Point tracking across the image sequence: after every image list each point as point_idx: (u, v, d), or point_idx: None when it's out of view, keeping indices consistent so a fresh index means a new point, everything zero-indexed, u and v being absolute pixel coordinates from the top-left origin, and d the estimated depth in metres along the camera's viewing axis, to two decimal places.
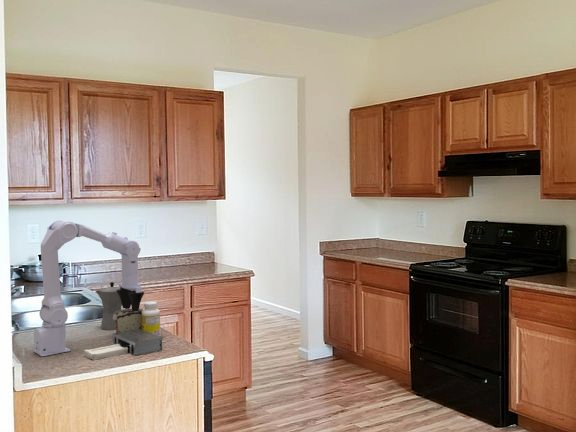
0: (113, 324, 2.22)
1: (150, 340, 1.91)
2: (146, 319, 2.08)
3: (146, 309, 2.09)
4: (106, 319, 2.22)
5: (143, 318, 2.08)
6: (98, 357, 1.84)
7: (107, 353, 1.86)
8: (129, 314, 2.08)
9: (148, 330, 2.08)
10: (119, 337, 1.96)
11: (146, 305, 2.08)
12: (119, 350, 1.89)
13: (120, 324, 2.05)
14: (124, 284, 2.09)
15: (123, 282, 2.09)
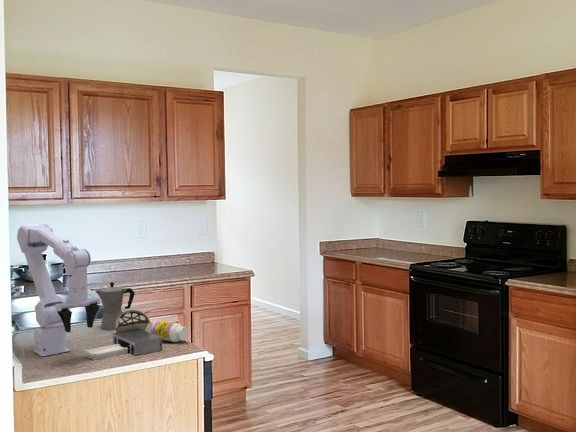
0: (113, 324, 2.22)
1: (150, 340, 1.91)
2: (166, 338, 2.03)
3: (175, 335, 2.02)
4: (106, 319, 2.22)
5: (166, 334, 2.02)
6: (98, 357, 1.84)
7: (107, 353, 1.86)
8: (133, 323, 2.03)
9: None
10: (119, 337, 1.96)
11: (179, 337, 2.01)
12: (119, 350, 1.89)
13: (120, 330, 2.02)
14: None
15: None
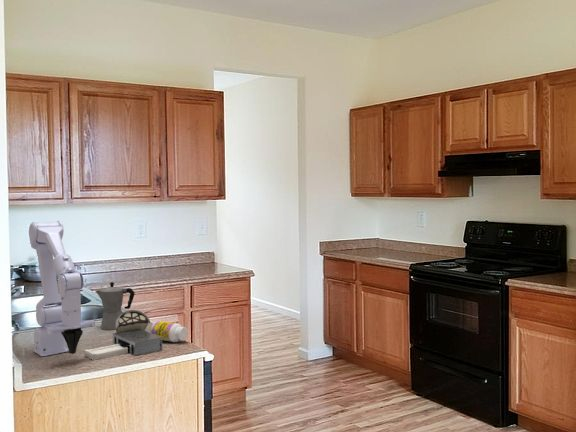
0: (113, 324, 2.22)
1: (150, 340, 1.91)
2: (166, 338, 2.03)
3: (175, 336, 2.02)
4: (106, 319, 2.22)
5: (166, 335, 2.02)
6: (98, 357, 1.84)
7: (107, 353, 1.86)
8: (133, 323, 2.03)
9: None
10: (119, 337, 1.96)
11: (178, 337, 2.01)
12: (119, 350, 1.89)
13: (120, 330, 2.02)
14: None
15: None
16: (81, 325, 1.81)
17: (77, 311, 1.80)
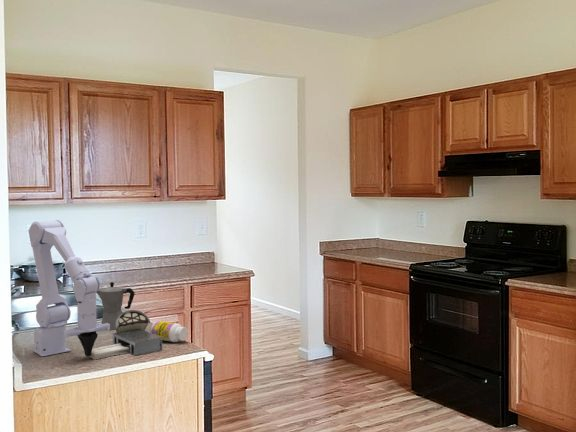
0: (113, 324, 2.22)
1: (150, 340, 1.91)
2: (166, 338, 2.03)
3: (175, 336, 2.02)
4: (106, 319, 2.22)
5: (166, 335, 2.02)
6: (100, 356, 1.85)
7: (109, 352, 1.87)
8: (133, 323, 2.03)
9: None
10: (119, 337, 1.96)
11: (178, 337, 2.01)
12: (121, 349, 1.90)
13: (120, 330, 2.02)
14: None
15: None
16: (96, 328, 1.84)
17: (93, 315, 1.83)
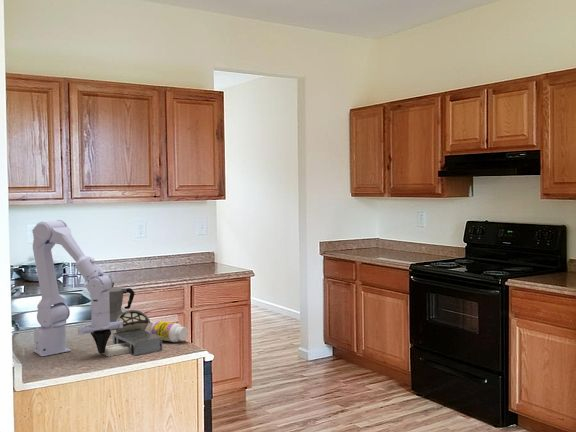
0: None
1: (150, 340, 1.91)
2: (166, 338, 2.03)
3: (175, 336, 2.02)
4: None
5: (166, 335, 2.02)
6: (113, 354, 1.88)
7: (122, 350, 1.90)
8: (133, 323, 2.03)
9: None
10: (119, 337, 1.96)
11: (178, 337, 2.01)
12: None
13: (120, 330, 2.02)
14: None
15: None
16: (110, 326, 1.87)
17: (106, 312, 1.86)
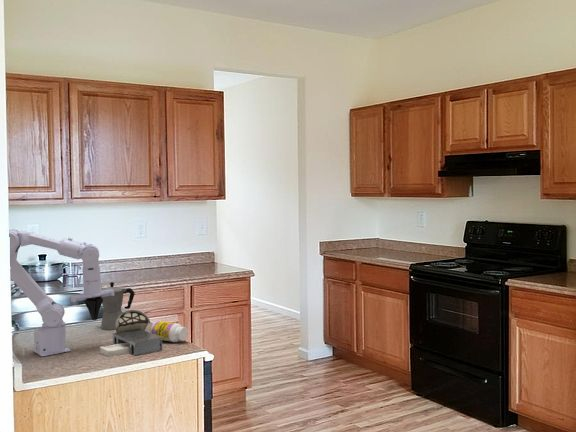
0: (113, 324, 2.22)
1: (150, 340, 1.91)
2: (166, 338, 2.03)
3: (175, 336, 2.02)
4: (106, 319, 2.22)
5: (166, 335, 2.02)
6: (113, 354, 1.88)
7: (122, 350, 1.90)
8: (133, 323, 2.03)
9: None
10: (119, 337, 1.96)
11: (178, 337, 2.01)
12: None
13: (120, 330, 2.02)
14: None
15: None
16: (101, 293, 1.96)
17: (97, 280, 1.94)
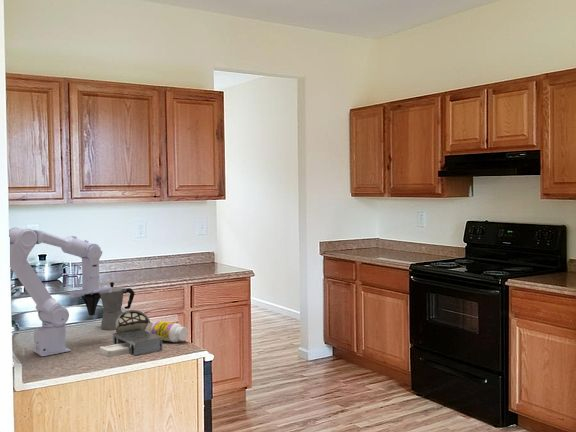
0: (113, 324, 2.22)
1: (150, 340, 1.91)
2: (166, 338, 2.03)
3: (175, 336, 2.02)
4: (106, 319, 2.22)
5: (166, 335, 2.02)
6: (113, 354, 1.88)
7: (122, 350, 1.90)
8: (133, 323, 2.03)
9: None
10: (119, 337, 1.96)
11: (178, 337, 2.01)
12: None
13: (120, 330, 2.02)
14: None
15: None
16: (99, 290, 2.03)
17: (96, 277, 2.02)
